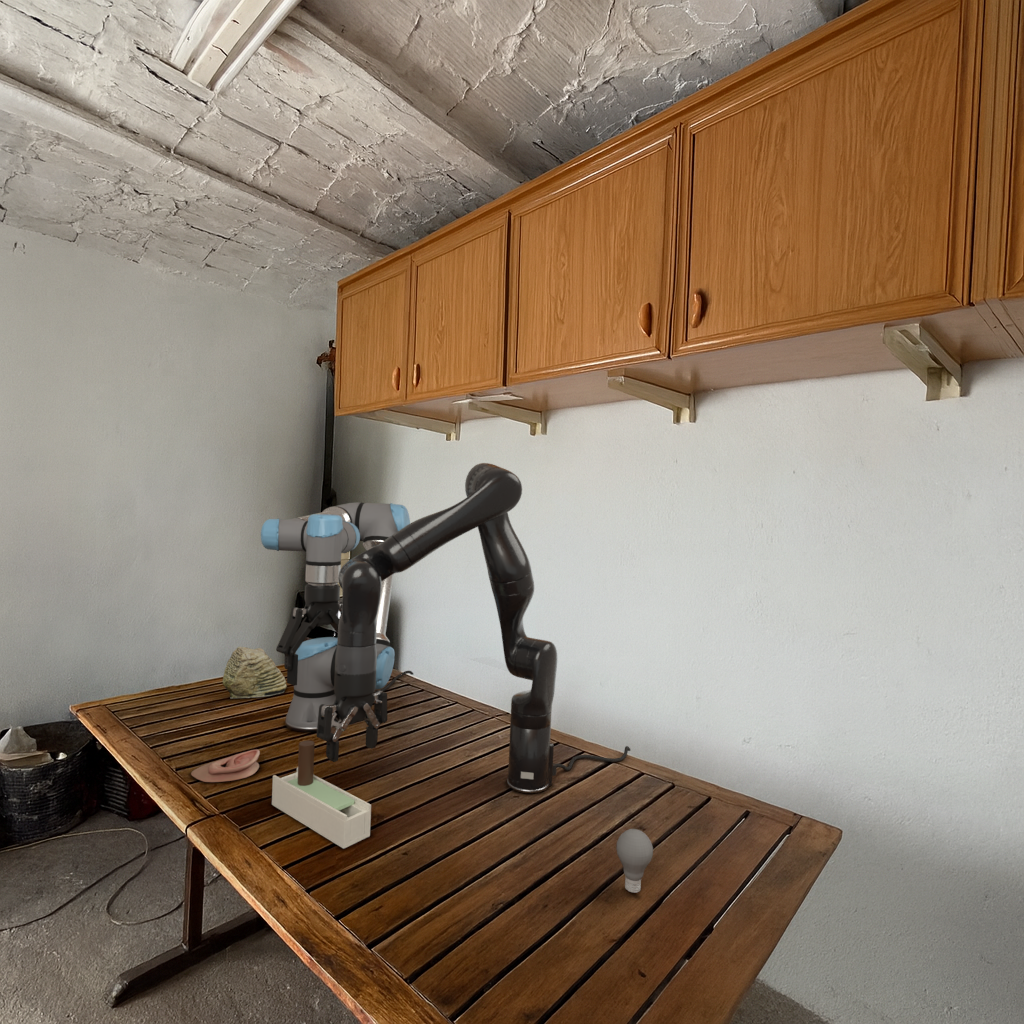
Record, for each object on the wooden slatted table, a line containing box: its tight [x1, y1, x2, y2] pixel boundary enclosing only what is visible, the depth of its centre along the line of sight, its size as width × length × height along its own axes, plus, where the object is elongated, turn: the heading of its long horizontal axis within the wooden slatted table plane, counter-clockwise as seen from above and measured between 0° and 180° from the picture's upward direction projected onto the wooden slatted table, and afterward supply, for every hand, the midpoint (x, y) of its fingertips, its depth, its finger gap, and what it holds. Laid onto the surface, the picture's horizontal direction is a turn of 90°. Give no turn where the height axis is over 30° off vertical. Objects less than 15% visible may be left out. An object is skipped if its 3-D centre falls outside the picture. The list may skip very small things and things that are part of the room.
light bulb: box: [615, 828, 654, 894], centre depth 106 cm, size 6×6×10 cm
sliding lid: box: [287, 739, 354, 811], centre depth 124 cm, size 16×4×9 cm, turn 51°
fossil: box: [222, 646, 288, 699], centre depth 198 cm, size 9×18×15 cm, turn 132°
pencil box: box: [271, 766, 372, 850], centre depth 124 cm, size 24×6×6 cm, turn 51°
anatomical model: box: [190, 748, 261, 783], centre depth 143 cm, size 13×4×12 cm
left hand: (319, 678), depth 142 cm, fingers open, 13 cm apart
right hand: (352, 753), depth 118 cm, fingers open, 8 cm apart
